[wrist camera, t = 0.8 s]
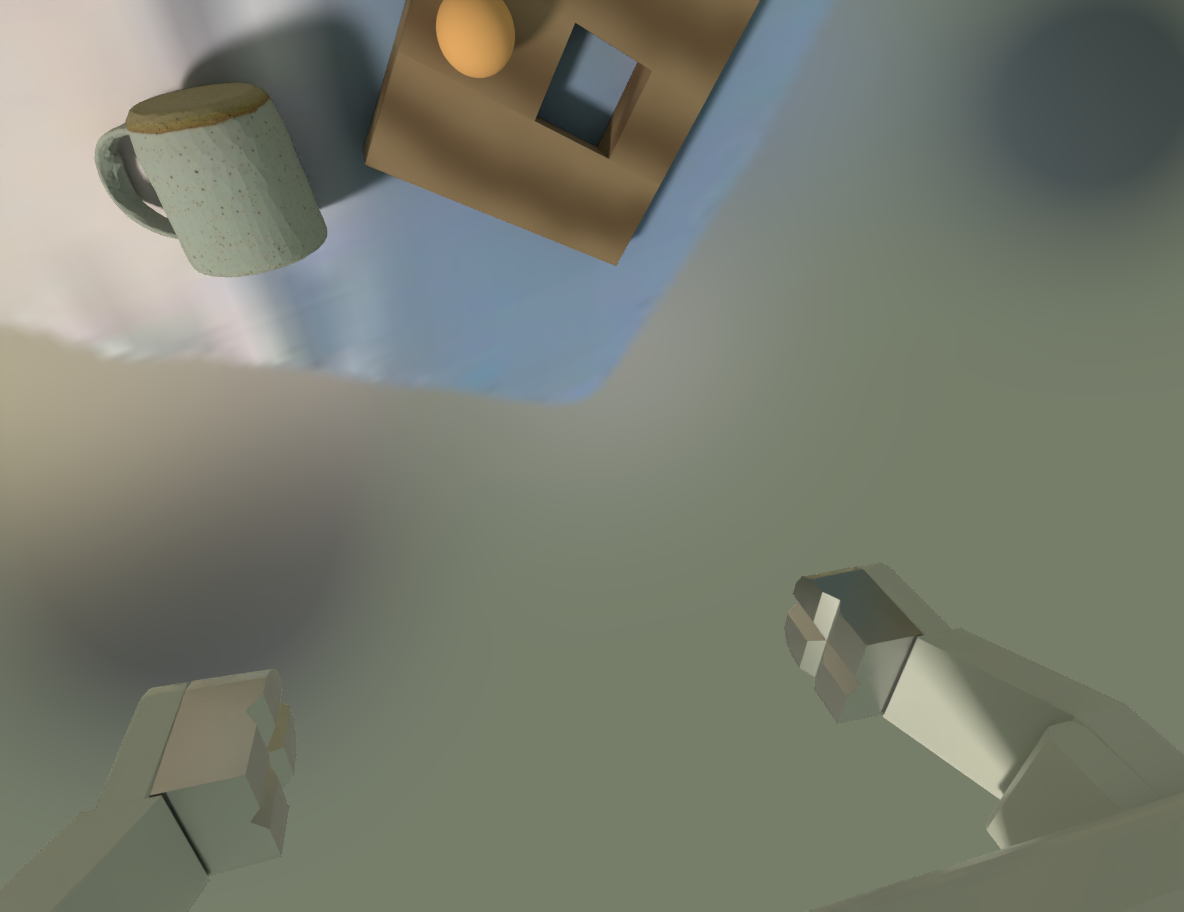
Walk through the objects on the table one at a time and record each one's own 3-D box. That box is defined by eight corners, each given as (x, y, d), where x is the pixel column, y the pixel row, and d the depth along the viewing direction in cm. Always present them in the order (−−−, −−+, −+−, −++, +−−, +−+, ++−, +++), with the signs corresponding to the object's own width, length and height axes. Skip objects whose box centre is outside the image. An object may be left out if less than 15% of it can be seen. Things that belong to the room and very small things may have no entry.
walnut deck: (470, -226, 29) (479, -231, 27) (742, -10, 39) (762, -4, 37) (363, 151, 38) (365, 164, 36) (605, 251, 48) (616, 265, 46)
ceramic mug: (271, 65, 34) (260, 102, 29) (330, 212, 40) (329, 266, 34) (63, 101, 33) (10, 148, 27) (155, 248, 38) (126, 310, 33)
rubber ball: (446, -39, 31) (459, -29, 29) (517, 5, 34) (535, 18, 31) (420, 46, 33) (430, 62, 31) (489, 82, 36) (504, 100, 33)
